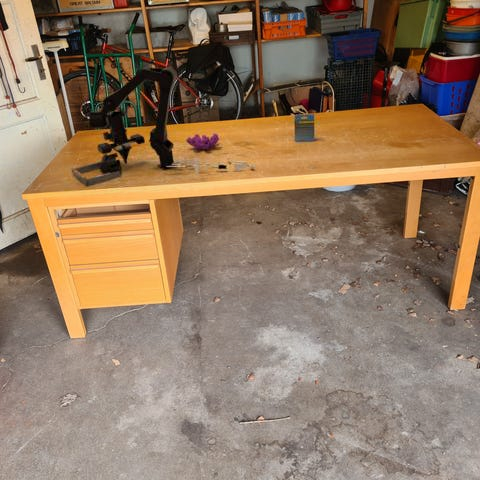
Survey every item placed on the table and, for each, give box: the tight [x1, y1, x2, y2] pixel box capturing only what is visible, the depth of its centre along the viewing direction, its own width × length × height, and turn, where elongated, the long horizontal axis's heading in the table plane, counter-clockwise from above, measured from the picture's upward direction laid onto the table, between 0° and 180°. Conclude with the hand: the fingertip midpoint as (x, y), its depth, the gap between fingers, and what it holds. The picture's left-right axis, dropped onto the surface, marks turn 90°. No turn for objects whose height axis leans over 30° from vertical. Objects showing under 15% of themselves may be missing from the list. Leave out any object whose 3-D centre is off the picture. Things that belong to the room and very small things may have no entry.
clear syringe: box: [166, 155, 255, 175], centre depth 187 cm, size 6×35×12 cm
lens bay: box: [71, 161, 121, 187], centre depth 188 cm, size 17×14×3 cm
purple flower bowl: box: [185, 133, 220, 150], centre depth 208 cm, size 11×15×10 cm
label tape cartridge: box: [294, 113, 315, 143], centre depth 208 cm, size 9×4×12 cm, turn 84°
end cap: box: [99, 152, 123, 174], centre depth 189 cm, size 10×7×7 cm
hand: (125, 163), depth 194 cm, fingers closed
